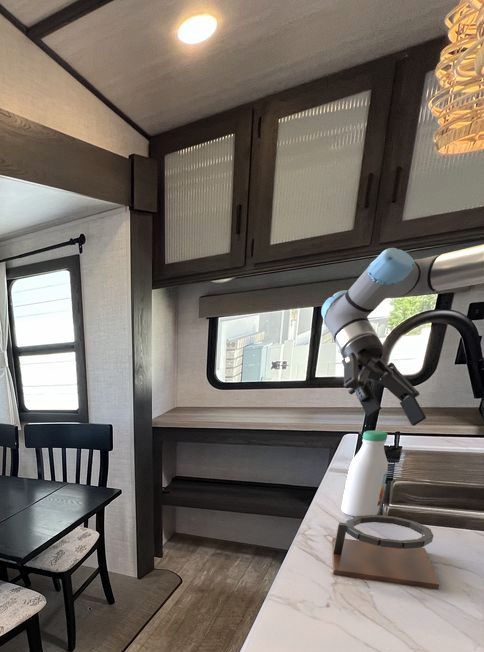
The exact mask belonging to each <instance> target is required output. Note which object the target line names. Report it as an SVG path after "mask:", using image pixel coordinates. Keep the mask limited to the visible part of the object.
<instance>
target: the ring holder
mask: <svg viewBox="0 0 484 652" xmlns="http://www.w3.org/2000/svg"><path fill="white" fill-rule="evenodd" d="M368 523H369V524H371V523H379V524H389V525H396V526H400V527H403V528H407V529H410V530H412V531H414V532H416V533H418V534H420V535H421V536H420V537H418V538H414V539H403V540H401V539H391V538H383V537H378V536H376V535H375V536H374V535H371V534H367V533H364V532H362V531H361V530H359V529H357V528H356V527H357V526H358V525H360V524H368ZM336 529H337V530H336V535H335V537H332V539H331V552H332V553H331V554H332V574H333V575H336V576H345V577H350V578H358V579H364V580H372V581H379V582H384V583H385V582H386V583H392V584H400V585H407V586H414V587H421V588H427V589H434V590H439V589H440V587H441V585H440V582H439V579H438V577H437V574H436V572H435V569H434V566H433V564H432V562H431V560H430V557H429V555H428V553H427V550H426V548H425V546H427V545H429V544H431V543H432V542H433V539H434V534H433V532H432V530H431V528H430V527H428V526H426V525H424V524H423V523H422V524H421V523H419V522H417V521H414V520H410V519H406V518H402V517H399V516H392V515H391V516H390V515H381V514H377V515H365V516H357V517H355V516H352V517H351V518H349V519H347V520H346V521H345V522H338V524H337V528H336ZM346 534H348V535H349V536H351V537H352V538H353V539H350V538H346Z"/></svg>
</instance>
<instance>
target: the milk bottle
mask: <svg viewBox="0 0 484 652" xmlns="http://www.w3.org/2000/svg"><path fill="white" fill-rule="evenodd" d="M388 435H389V434H388V432H387V431H383V430H366V431H364V432H363V434H362V440H361V442H362V444H361V447H360V449H359V450H358V451H357V452H356V454H355V456H354V457H353V458H352V460H351V462H350V465H349V468H348V472H347V477H346V481H345V486H344V487H345V488H344V492H343V497H342V503H341V508H340V509H341V512H342V513H343V514H345V515H348V516H350V517H357V516H365V515H379V512H380V508H381V503H382V499H383V495H384V490H385V485H386V481H387V476H388V469H389V463H388V458H387V456H386V451H385V443H387V439H388Z"/></svg>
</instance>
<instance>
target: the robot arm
mask: <svg viewBox="0 0 484 652" xmlns="http://www.w3.org/2000/svg"><path fill="white" fill-rule="evenodd" d="M480 284H484V243H483V244H479V245H475V246H471V247H466V248H463V249H458V250H454V251H450V252H449V251H448V252H445V253H442V254H436V255H432V256H427V257H423V258H418V259H413V257H412V256H411V255H410V254H409V253H407V252H406V251H404V250H402V249H398V248H396V247H389V248H386V249H384V250H383V251H382V252H381V253H380V254H379V255H378V256H377V257H376V258H375V259H374V260H372V262H370V264H369V265H368V267H367V268H366V269H364V271H363V272H362V274H361V275H360V276H359V277H358V278H357V279H356V281H355V282H353V284H352V285H351V286H350V287H349V288H348V290H347V289H346V290H345V289H344V290H339V291H338V292H336V293H334V294H333V295H332V296H331V297H328V298H327V299H326V300H325V301H324V303H323V304H322V306H321V311H320V313H321V317H322V319H323V323H324V326H325V327H326V328H327V330H329V333H330V335H331V337H332V338H333V341H334V343H335V345H336V347H337V349H338V353H340V354H341V356H342V357H341V358H342V360H341V363H342V365H343V387H344V388H346V389H348V391H347V392H348V394H349V395H354V394H355V395H356V397H357V399H358V401H359V403H360V405H361V407H362V409H363V411H364V413H365V415H366V417H368V418H371V417H372V416H374V415H375V414H377V413H378V412H379V411H381V410H382V407H381V405H380V402H379V401H378V399H377V397H376V395H375V393H374V391H373V389H372V388H371V385H370V384H367V381H368V379H370V380H371V379H372V380H373V381H374V382H375V383H376V384H377V385H382V386H383V387H384V388H386V390H388V391H389V392H390V393H391V394H392V395H394V396H395V397H396V398H397V399H398V400H399V401H400V402H399V406H401V408H402V411H403V412H404V414H405V416H406V418H407V419H408V421H409V424H410V425H411V426H413V427H414V426H417V425H418V424H420V423H421V422H422V421H423V422H424V421H425V420H426V419H427V416H426V415H425V413H424V411H423V409H422V407H421V406H420V404H419V403H418V400H417V399H416V398H417V397H418V396H421V395H420V392H419V391H418V390H417V389H416V388H415V387H414V386H413V385H412V384H411V383H410V381H409V380H408V379H407V378H406V377H405V376H404V375H403V374H402V373H401V372H400V371H399V369H398V367H396V365H395V364H394V363H393V362H389V363H388V364H387V363H386V361H384V360H383V359H382V358H383V355H384V354H385V353H384V352H385V347H384V345H383V343H382V342H381V339H380V337H378V334H377V332H376V330H375V328H374V327H373V324H372V323H371V322H370V320H369V318H368V316H369V315H370V314H372V312H374V311H375V310H376V309H377V307H379V306H380V305H381V304H382V302H383V301H385V299H390V298H391V299H393V298H401V297H418V296H424V295H427V294H430V293H436V292H439V291H445V290H451V289H457V288H463V287H468V286H474V285H475V286H476V285H480Z"/></svg>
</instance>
